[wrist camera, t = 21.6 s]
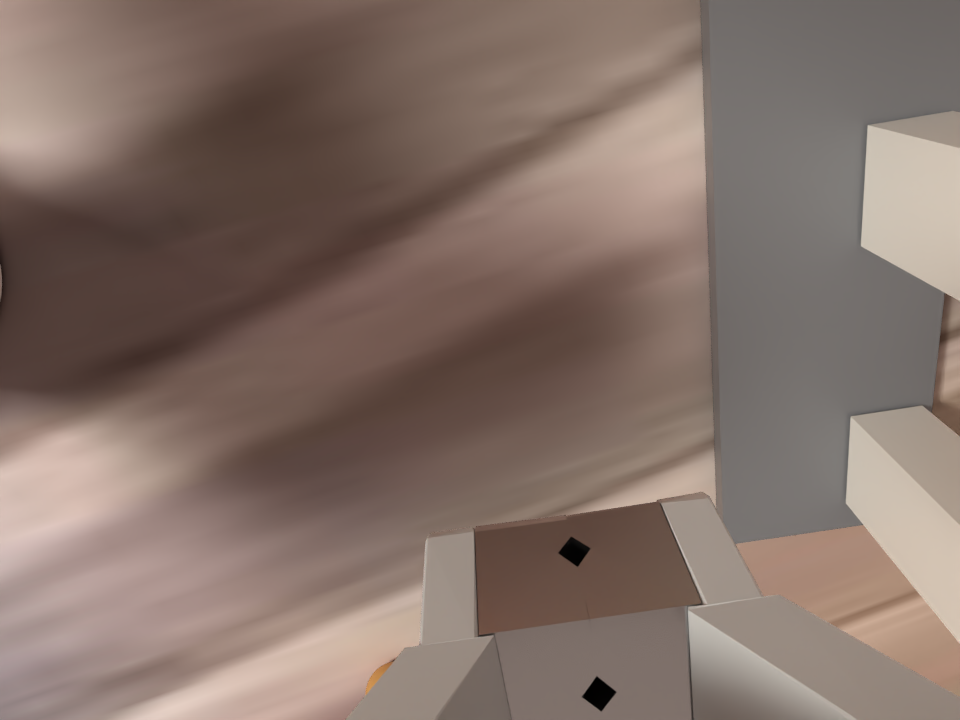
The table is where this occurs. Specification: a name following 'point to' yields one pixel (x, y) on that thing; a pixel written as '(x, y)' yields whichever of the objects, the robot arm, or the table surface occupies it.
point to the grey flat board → (810, 244)
